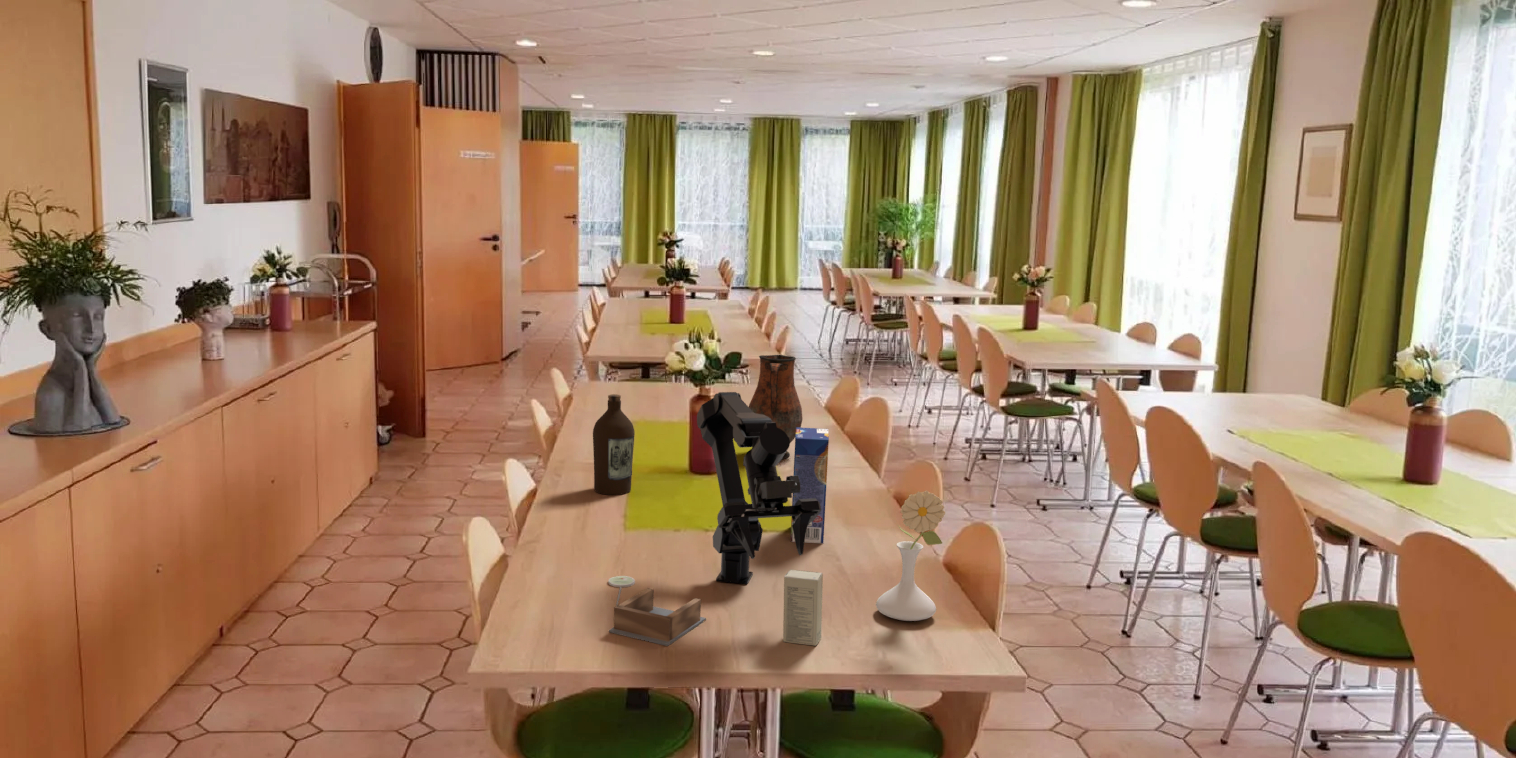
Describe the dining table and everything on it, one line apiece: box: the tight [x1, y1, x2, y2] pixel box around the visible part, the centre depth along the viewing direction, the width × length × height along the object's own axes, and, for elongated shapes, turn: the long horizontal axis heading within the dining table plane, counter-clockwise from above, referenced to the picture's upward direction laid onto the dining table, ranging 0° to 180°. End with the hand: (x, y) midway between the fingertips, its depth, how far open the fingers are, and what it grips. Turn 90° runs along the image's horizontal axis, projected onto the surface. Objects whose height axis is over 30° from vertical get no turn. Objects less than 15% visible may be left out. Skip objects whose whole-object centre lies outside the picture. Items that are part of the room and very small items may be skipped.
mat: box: [608, 605, 707, 647], centre depth 207 cm, size 14×12×1 cm
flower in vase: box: [875, 490, 946, 622], centre depth 214 cm, size 13×11×25 cm
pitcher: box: [748, 354, 803, 460], centre depth 337 cm, size 17×21×30 cm
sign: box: [607, 575, 636, 606], centre depth 223 cm, size 5×1×15 cm
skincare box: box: [782, 569, 824, 646], centre depth 202 cm, size 6×4×12 cm
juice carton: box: [789, 427, 830, 544], centre depth 263 cm, size 12×8×24 cm, turn 177°
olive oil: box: [592, 393, 635, 496], centre depth 294 cm, size 11×11×25 cm
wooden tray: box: [613, 587, 702, 642], centre depth 206 cm, size 12×11×4 cm
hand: (777, 556), depth 208 cm, fingers open, 9 cm apart
